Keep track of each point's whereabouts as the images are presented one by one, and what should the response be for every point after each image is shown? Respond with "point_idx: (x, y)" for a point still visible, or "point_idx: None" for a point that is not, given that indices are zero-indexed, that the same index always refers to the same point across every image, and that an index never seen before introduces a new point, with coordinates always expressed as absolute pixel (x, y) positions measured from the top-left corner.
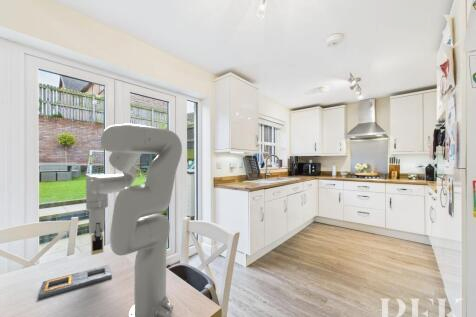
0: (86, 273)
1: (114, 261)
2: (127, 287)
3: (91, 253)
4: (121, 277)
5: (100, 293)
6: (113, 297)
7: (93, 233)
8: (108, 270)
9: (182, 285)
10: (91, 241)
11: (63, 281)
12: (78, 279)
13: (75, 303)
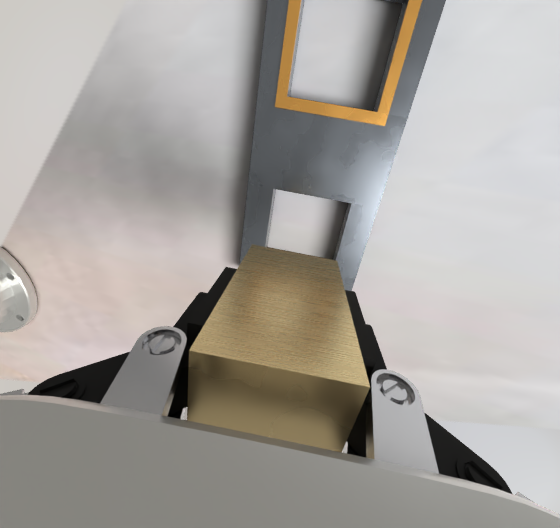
0: (341, 196)
1: (400, 323)
2: (142, 284)
3: (273, 250)
4: None
5: (156, 206)
6: (104, 232)
7: (372, 429)
8: None
9: None
10: (235, 310)
11: (381, 84)
12: (303, 150)
13: (137, 112)
